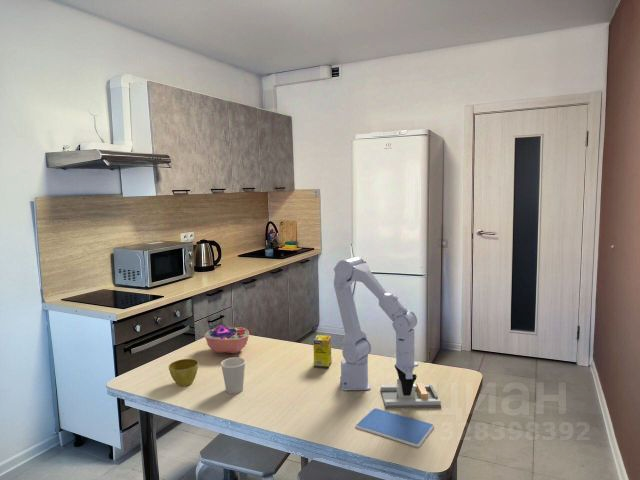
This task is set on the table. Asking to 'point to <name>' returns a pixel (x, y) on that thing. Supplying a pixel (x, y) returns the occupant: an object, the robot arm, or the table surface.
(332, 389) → the table surface
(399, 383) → the block
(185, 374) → the flower pot
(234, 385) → the dixie cup
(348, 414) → the table surface
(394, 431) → the tablet computer
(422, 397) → the block
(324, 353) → the supplement box
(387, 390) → the rail mount
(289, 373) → the table surface
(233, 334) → the cell model
